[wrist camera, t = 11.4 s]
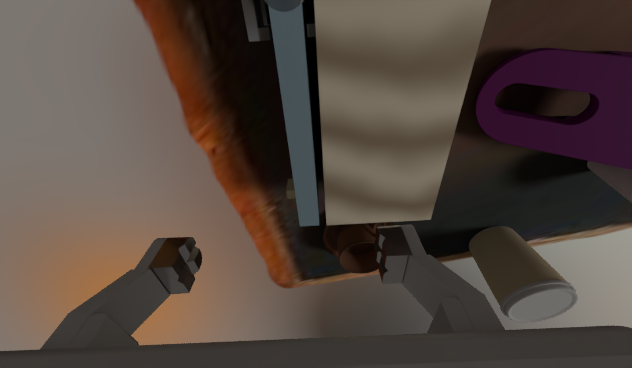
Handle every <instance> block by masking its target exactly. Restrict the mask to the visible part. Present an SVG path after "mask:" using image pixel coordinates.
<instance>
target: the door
mask: <svg viewBox="0 0 632 368" xmlns="http://www.w3.org/2000/svg"><path fill="white" fill-rule="evenodd" d="M264 1H265V2H266V3H267V4H268V7H269V14H270V21H271V28H272V35H273V41H274V48H275V55H276V62H277V69H278V76H279V83H280V90H281V97H282V104H283V111H284V118H285V125H286V132H287V139H288V146H289V153H290V160H291V167H292V174H293V179H288V182H287V189H286V192H287V198H288V199H291V198H296V202H297V209H298V216H299V223H300V226H316V225H319V202H318V175H317V162H316V148H315V135H314V121H313V108H312V95H311V81H310V68H309V54H308V41H307V27H306V14H305V3H306V1H307V0H264Z"/></svg>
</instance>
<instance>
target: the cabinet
mask: <svg viewBox="0 0 632 368" xmlns="http://www.w3.org/2000/svg"><path fill="white" fill-rule="evenodd" d="M241 2H242V7H243V12H244V17H245V23H246V28H247V33H248V38H249V42H252V41H266V40H271V39H273V35H272V28H271V21H270V14H269V7H268V4H267V3H266V2H265V1H264V0H241ZM313 2H314V19H310V20H308V23H307V31H308V37H315V38H316V55H317V73H318V91H319V108H320V126H321V144H322V161H323V179H324V195H325V210H326V225H342V224H361V223H379V222H397V221H415V220H431V216H432V213H433V209H434V205H435V202H436V198H437V194H438V191H439V187H440V184H441V180H442V176H443V173H444V169H445V165H446V162H447V158H448V155H449V151H450V147H451V144H452V140H453V137H454V133H455V129H456V126H457V122H458V118H459V115H460V111H461V108H462V104H463V100H464V97H465V93H466V89H467V86H468V82H469V79H470V75H471V71H472V68H473V64H474V60H475V57H476V53H477V50H478V46H479V42H480V39H481V35H482V32H483V28H484V24H485V21H486V17H487V13H488V10H489V6H490V3H491V0H313Z"/></svg>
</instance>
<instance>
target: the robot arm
mask: <svg viewBox="0 0 632 368" xmlns="http://www.w3.org/2000/svg"><path fill="white" fill-rule="evenodd" d="M375 233H376V237H377V238H376V239H375V242H374V249H375V256H376V261H377V262H378V263H379V273H380V277H381V280H382V283H383V284H388V283H403V285H404V286H405V288H407V290H408V291H409V292H410V293H411V294H412V295H413V296H414V297H415V298H416V299H417V301H418V302H419V303H420V304H421V305H422V306H423V307H424V308H425V309H426V310H427V311H428V312H429V314H430V315H431V316H432V317H433V320H432V323H431V325H430V327H429V330H428V332H427V334H405V335H381V336H380V335H379V336H356V337H331V338H309V339H308V338H307V339H282V340H260V341H236V342H211V343H188V344H165V345H164V344H163V345H140V346H139V344H138V342H137V341H136V340H135V339H134V338H133V337H132V336H131V335H132V334H133V332H134V331H135V330H136V329H137V328H138V327H139V326H140V325H141V324H142V323H143V322H144V321H145V320H146V319H147V318H148V317H149V316H150V315H151V314H152V313H153V312H154V311H155V310H156V309H157V308H158V307H159V306H160V305H161V304H162V303H163V302H164V301H165V300H166V299H167V298H168V297H169V296H170V295H169V294H180V293H189V292H190V290H191V287H192V285H193V283H194V281H195V277H194V274H195V273H196V272H197V271H198V270H199V269H200V266H201V263H202V255H201V251H200V249H198V248H197V247H195V244H196V242H195V240H194V238H193V237H179V238H178V237H177V238H157V239H156V240H154V241H153V243H152V244H151V246H150V248H149V249H148V250H147V252H146V253H145V255H144V256H143V258H142V259H141V261H140V262H139V264H138V265H137V266H136V268H135V269H134V270H130V271H129V272H127V273H126V274H124V275H123V276H121V277H120V278H119V279H117V280H116V281H114V282H113V283H111V284H110V285H108V286H107V287H106V288H104V289H103V290H101V291H100V292H99V293H97V294H96V295H94V296H93V297H91V298H90V299H89V300H87V301H86V302H84V303H83V304H81V305H80V306H78V307H77V308H76V309H74V310H73V311H71V312H70V313H69V314H68V315H67V316H66V317H65V318H64V320H63V321H62V322H61V324H60V325H59V326H58V327H57V329H56V330H55V331H54V332H53V334H52V335H51V336H50V338H49V339H48V340H47V341H46V342H45V344H44V345H43V346H42V348H41V349H40V350H21V351H20V350H19V351H0V368H632V328H629V327H624V326H596V327H595V326H593V327H570V328H547V329H546V328H545V329H523V330H505V329H504V327H503V326H502V324H501V322H500V321H499V319H498V317H497V315H496V314H495V312H494V310H493V309H492V307H491V305H490V303H489V302H488V300H487V298H486V297H485V295H484V294H482V293H481V292H480V291H478V290H477V289H476V288H474V287H473V286H472V285H470V284H469V283H468V282H466V281H465V280H464V279H462V278H461V277H459V276H458V275H457V274H456V273H454V272H453V271H451V270H450V269H449V268H447V267H446V266H445V265H443V264H442V263H441V262H439V261H438V260H437V259H435V258H434V257H433V256H431V255H427V254H426V252H425V250H424V248H423V246H422V244H421V242H420V239H419V237H418V235H417V233H416V231H415V229H414V226H413V225H400V226H399V225H397V226H381V227H377V228H376V232H375Z"/></svg>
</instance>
